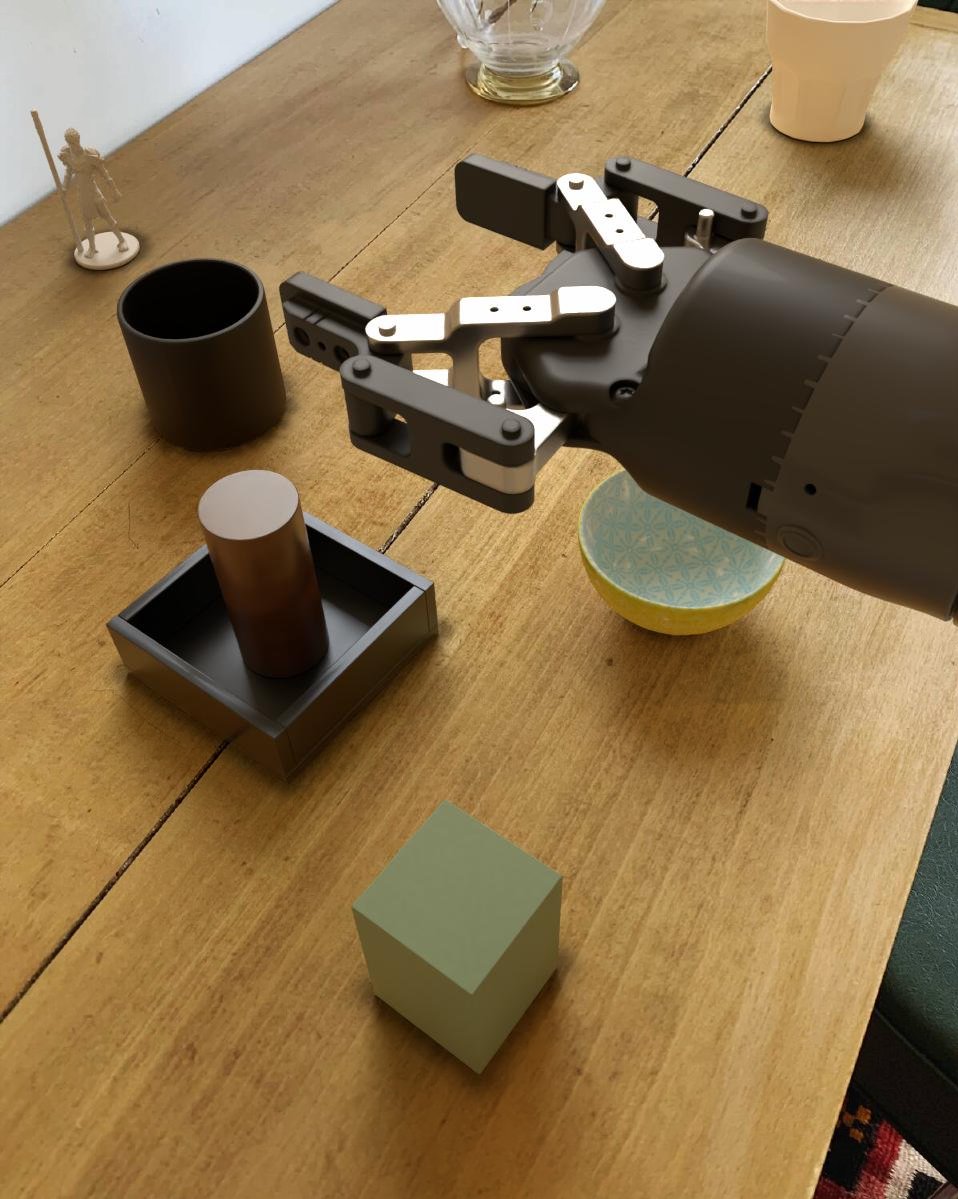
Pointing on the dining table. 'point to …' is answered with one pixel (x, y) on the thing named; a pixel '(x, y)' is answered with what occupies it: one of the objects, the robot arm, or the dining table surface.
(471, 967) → the pale green block
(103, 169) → the figurine
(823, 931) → the dining table surface
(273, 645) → the tall brown cylinder
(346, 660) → the open box
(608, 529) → the bowl
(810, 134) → the cup
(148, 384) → the mug
